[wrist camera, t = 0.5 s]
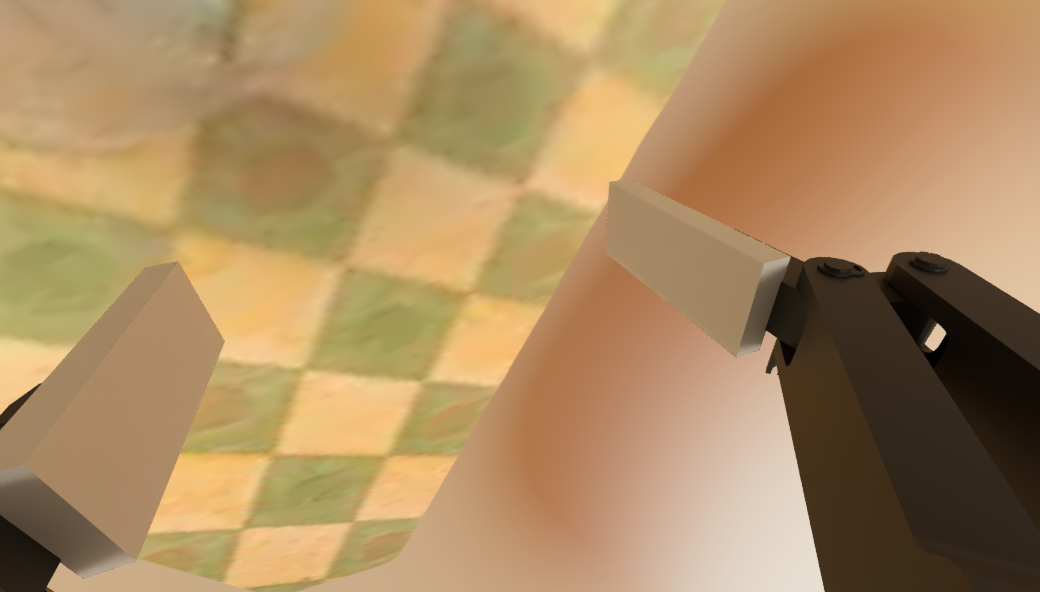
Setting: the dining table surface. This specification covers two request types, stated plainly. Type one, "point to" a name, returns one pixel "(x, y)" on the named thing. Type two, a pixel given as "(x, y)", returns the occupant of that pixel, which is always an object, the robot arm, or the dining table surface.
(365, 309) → the dining table surface
